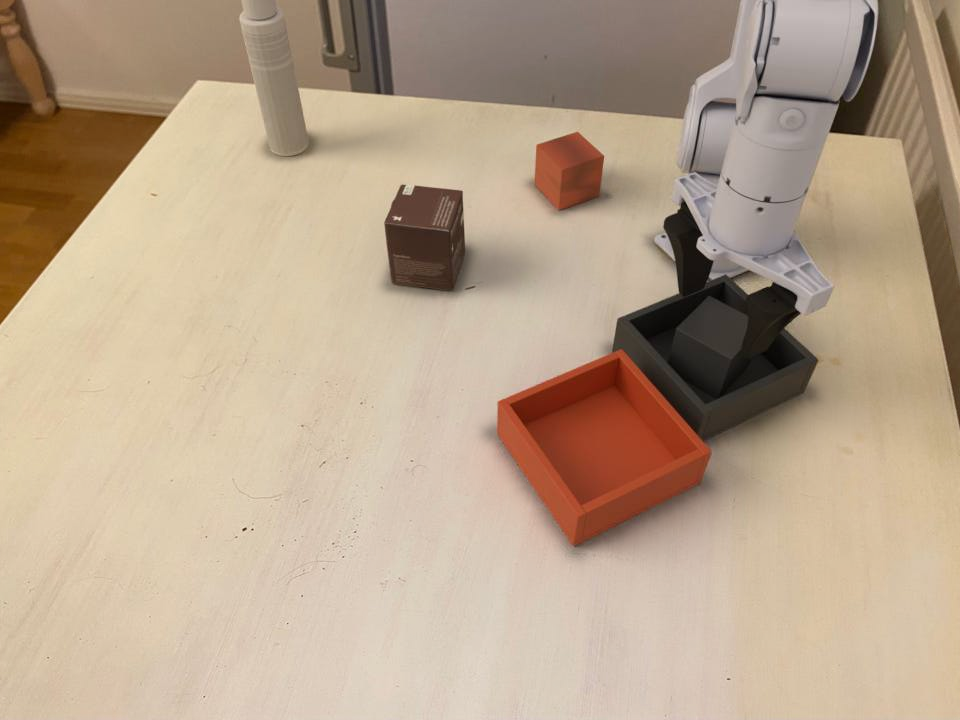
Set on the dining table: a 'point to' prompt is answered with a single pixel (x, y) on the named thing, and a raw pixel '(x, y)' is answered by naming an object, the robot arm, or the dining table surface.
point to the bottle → (274, 76)
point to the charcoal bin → (750, 394)
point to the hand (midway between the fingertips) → (721, 320)
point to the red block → (568, 170)
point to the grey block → (710, 347)
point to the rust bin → (600, 445)
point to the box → (425, 236)
